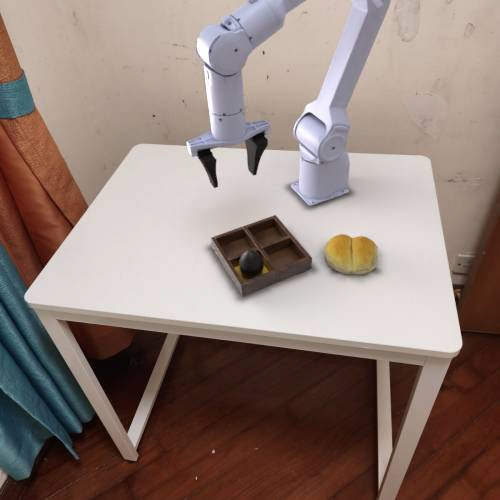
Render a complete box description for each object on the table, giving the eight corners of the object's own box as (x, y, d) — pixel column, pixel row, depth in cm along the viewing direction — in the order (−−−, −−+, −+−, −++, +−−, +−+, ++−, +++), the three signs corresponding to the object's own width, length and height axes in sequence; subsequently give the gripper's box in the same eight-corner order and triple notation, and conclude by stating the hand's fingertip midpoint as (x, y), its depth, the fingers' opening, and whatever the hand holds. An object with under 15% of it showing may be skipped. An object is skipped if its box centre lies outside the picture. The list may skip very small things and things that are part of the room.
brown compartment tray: (275, 225, 85) (275, 214, 83) (311, 268, 76) (312, 257, 75) (212, 248, 81) (210, 237, 80) (242, 296, 73) (241, 285, 71)
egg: (262, 263, 77) (261, 242, 74) (265, 280, 74) (264, 259, 71) (239, 265, 77) (237, 244, 74) (240, 282, 74) (238, 261, 71)
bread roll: (327, 240, 81) (328, 223, 78) (377, 246, 79) (380, 229, 76) (320, 272, 76) (321, 255, 73) (374, 280, 74) (378, 263, 71)
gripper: (256, 88, 76) (259, 157, 85) (175, 109, 72) (188, 179, 81) (275, 104, 71) (276, 175, 81) (190, 127, 67) (202, 199, 77)
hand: (233, 178), depth 81 cm, fingers open, 7 cm apart
